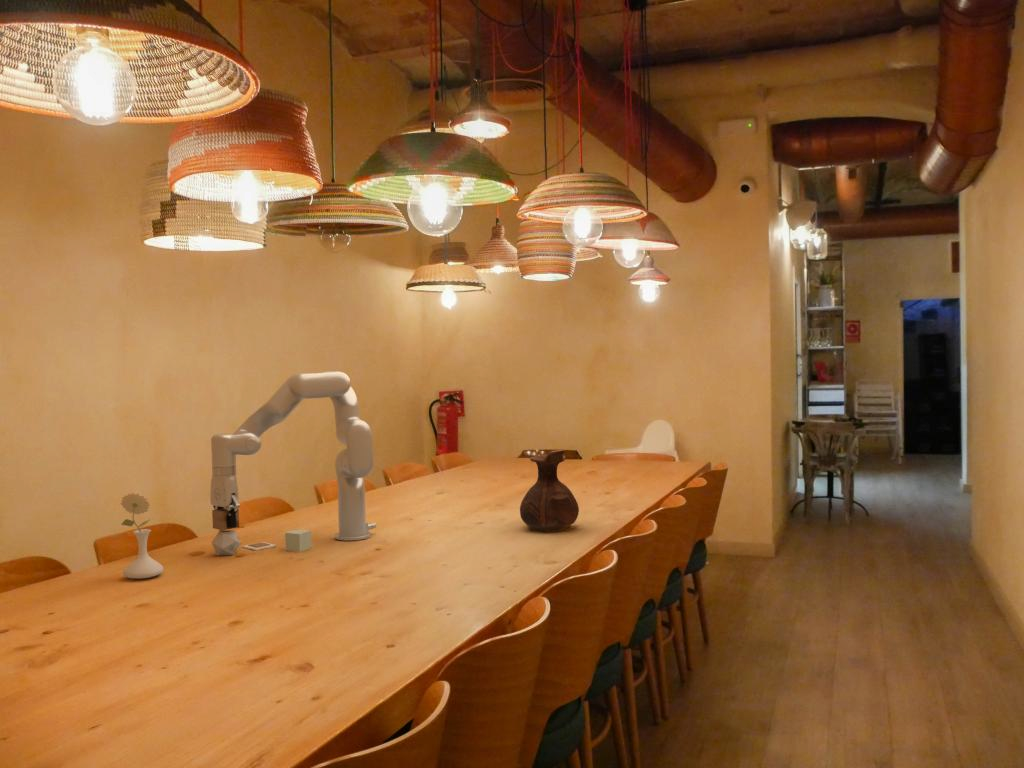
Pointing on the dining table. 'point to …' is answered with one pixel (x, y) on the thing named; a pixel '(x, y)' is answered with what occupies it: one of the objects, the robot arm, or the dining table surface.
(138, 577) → the flower in vase
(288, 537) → the sage block
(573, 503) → the dark brown vase
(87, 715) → the dining table surface
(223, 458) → the robot arm
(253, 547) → the tile
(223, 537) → the die
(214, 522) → the walnut block
